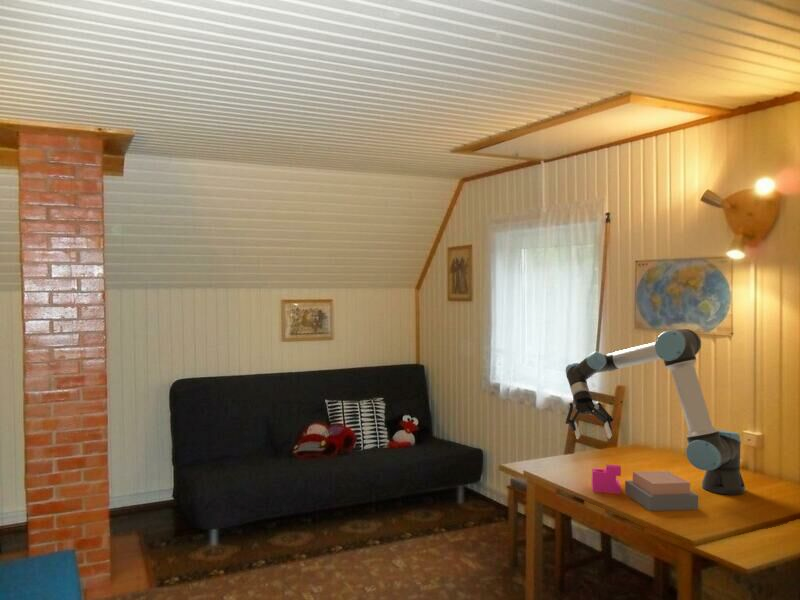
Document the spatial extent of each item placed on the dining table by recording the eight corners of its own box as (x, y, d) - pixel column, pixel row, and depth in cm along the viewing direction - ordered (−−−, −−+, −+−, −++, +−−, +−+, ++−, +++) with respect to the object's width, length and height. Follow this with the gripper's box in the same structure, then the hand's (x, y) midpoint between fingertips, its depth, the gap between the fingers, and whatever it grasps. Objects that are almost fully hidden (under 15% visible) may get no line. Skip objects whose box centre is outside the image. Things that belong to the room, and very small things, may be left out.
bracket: (620, 493, 256) (620, 467, 256) (592, 491, 258) (593, 465, 258) (618, 484, 267) (618, 459, 267) (591, 483, 270) (591, 457, 270)
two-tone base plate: (669, 492, 257) (670, 469, 257) (698, 509, 237) (698, 484, 237) (625, 493, 255) (625, 470, 255) (649, 510, 235) (650, 485, 235)
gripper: (606, 399, 293) (620, 441, 278) (551, 400, 291) (562, 442, 276) (611, 389, 288) (626, 431, 273) (555, 390, 285) (567, 432, 271)
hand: (594, 437), depth 274 cm, fingers open, 13 cm apart
